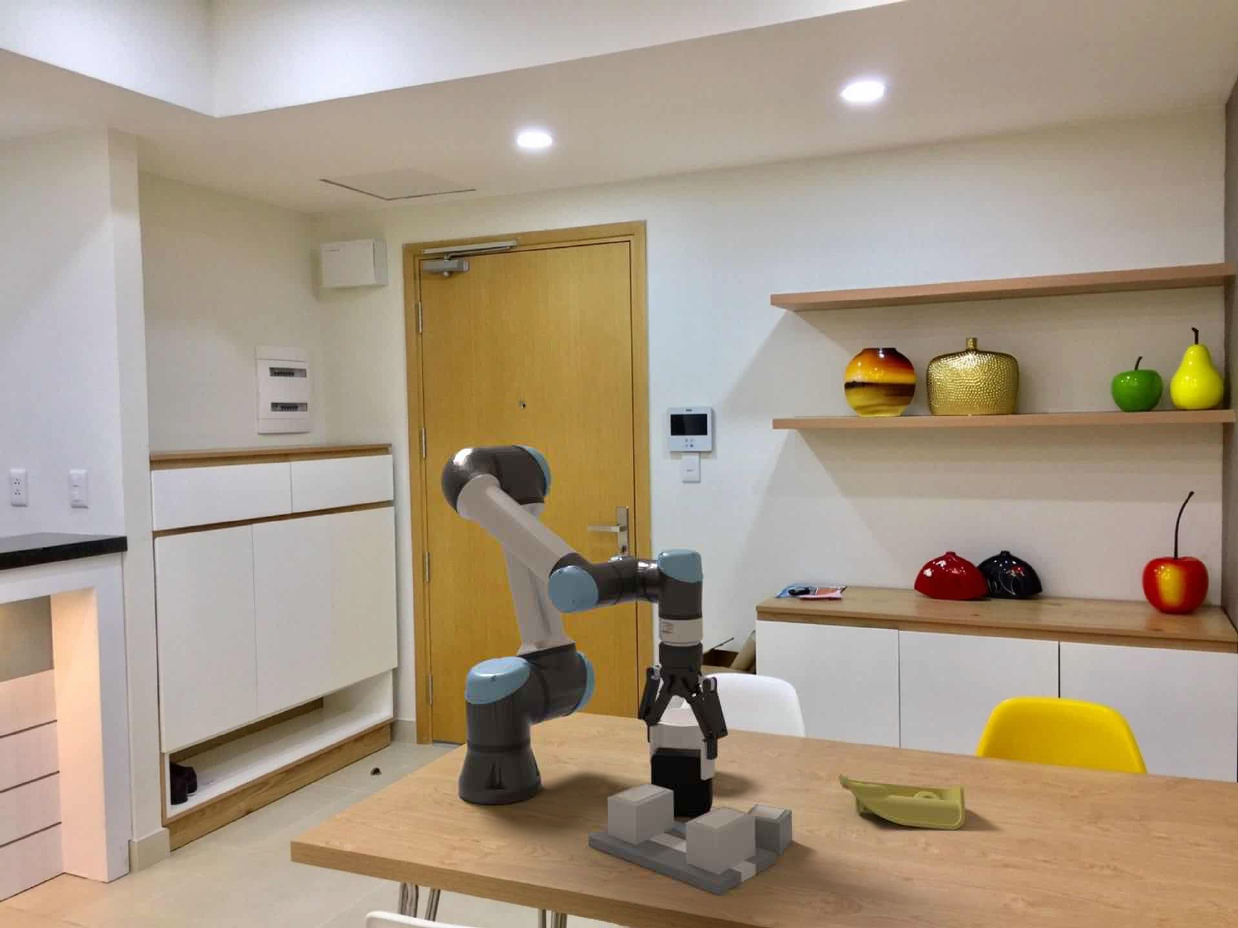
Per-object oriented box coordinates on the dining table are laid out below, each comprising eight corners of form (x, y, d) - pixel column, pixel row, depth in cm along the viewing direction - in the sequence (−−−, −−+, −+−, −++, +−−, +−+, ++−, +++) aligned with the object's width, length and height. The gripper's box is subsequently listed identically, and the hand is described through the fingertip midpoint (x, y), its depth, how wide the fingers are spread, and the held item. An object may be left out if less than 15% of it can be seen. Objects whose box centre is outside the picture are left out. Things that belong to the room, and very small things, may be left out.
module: (743, 848, 158) (742, 815, 158) (756, 834, 163) (755, 802, 163) (779, 855, 155) (779, 821, 155) (792, 840, 160) (791, 808, 160)
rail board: (588, 845, 160) (587, 797, 159) (647, 819, 170) (646, 774, 170) (719, 894, 142) (718, 840, 142) (776, 862, 152) (775, 812, 152)
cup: (730, 769, 194) (729, 712, 194) (699, 789, 184) (698, 729, 183) (673, 759, 201) (672, 704, 200) (641, 777, 190) (640, 719, 190)
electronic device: (710, 816, 169) (709, 757, 169) (651, 812, 171) (650, 754, 171) (712, 807, 173) (712, 749, 173) (655, 803, 175) (654, 746, 175)
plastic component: (951, 790, 175) (965, 783, 166) (952, 835, 172) (966, 830, 163) (835, 779, 177) (842, 771, 168) (834, 823, 174) (841, 818, 165)
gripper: (616, 635, 176) (617, 760, 177) (721, 655, 161) (722, 791, 161) (644, 628, 182) (645, 749, 183) (749, 647, 166) (750, 779, 167)
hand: (681, 769), depth 172 cm, fingers closed on electronic device, 11 cm apart
